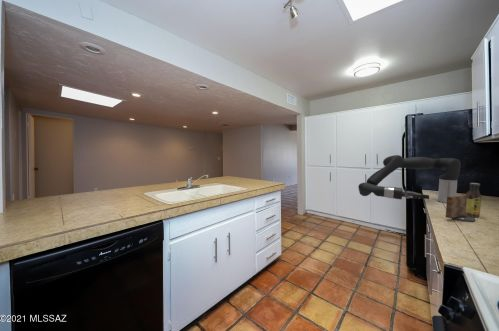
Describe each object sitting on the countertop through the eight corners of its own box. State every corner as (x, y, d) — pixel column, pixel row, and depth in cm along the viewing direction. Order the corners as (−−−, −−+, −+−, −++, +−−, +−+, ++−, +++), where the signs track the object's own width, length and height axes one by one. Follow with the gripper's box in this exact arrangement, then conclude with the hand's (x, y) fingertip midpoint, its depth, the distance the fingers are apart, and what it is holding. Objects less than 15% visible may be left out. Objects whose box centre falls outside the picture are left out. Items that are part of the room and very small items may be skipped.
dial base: (445, 213, 117) (445, 211, 116) (472, 217, 109) (472, 215, 109) (448, 219, 108) (448, 216, 108) (477, 223, 101) (478, 221, 101)
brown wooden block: (458, 213, 111) (459, 194, 110) (468, 216, 107) (470, 195, 106) (442, 216, 108) (444, 196, 107) (452, 218, 104) (454, 197, 103)
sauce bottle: (475, 218, 109) (478, 184, 107) (461, 214, 115) (463, 182, 113) (482, 216, 110) (485, 184, 109) (467, 213, 116) (470, 182, 115)
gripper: (392, 188, 118) (430, 193, 107) (393, 185, 128) (428, 189, 117) (392, 200, 119) (429, 205, 108) (393, 196, 129) (427, 200, 118)
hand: (429, 197), depth 112 cm, fingers closed
